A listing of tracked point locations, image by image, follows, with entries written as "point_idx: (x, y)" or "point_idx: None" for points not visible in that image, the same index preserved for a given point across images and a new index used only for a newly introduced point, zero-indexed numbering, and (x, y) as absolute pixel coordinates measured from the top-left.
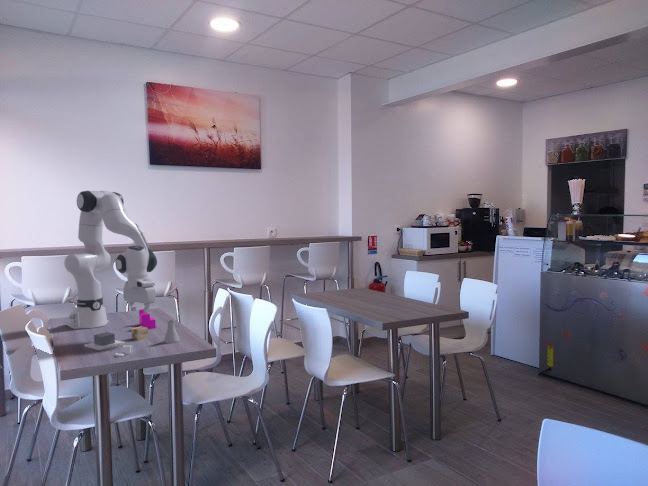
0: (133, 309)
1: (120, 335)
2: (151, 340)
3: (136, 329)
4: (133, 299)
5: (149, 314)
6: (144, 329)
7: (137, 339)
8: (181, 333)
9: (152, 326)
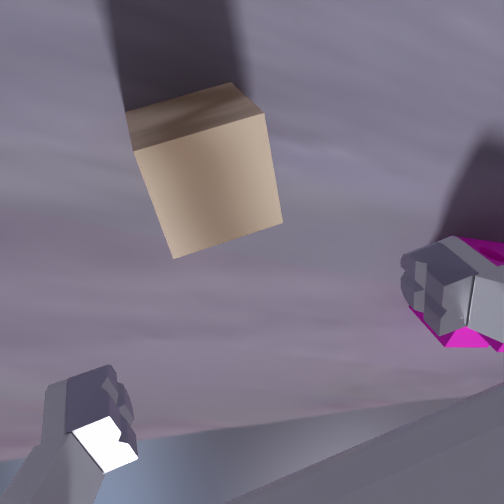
0: (421, 273)
1: (438, 40)
2: (53, 210)
3: (168, 143)
4: (488, 468)
5: (496, 348)
6: (159, 221)
7: (141, 110)
8: (147, 405)
9: None
